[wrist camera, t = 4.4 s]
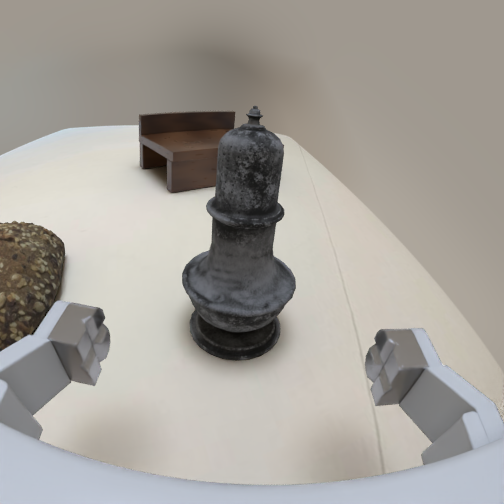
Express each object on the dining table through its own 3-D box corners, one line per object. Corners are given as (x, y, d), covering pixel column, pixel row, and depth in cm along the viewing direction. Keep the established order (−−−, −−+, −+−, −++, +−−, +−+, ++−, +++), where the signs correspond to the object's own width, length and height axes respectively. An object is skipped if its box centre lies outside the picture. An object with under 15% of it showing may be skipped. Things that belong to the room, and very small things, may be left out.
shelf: (228, 155, 53) (231, 111, 49) (279, 178, 43) (286, 123, 39) (139, 165, 44) (139, 114, 40) (172, 194, 35) (173, 125, 31)
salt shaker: (179, 361, 15) (170, 107, 9) (189, 292, 20) (193, 98, 14) (291, 364, 16) (347, 124, 10) (278, 295, 21) (308, 108, 15)
